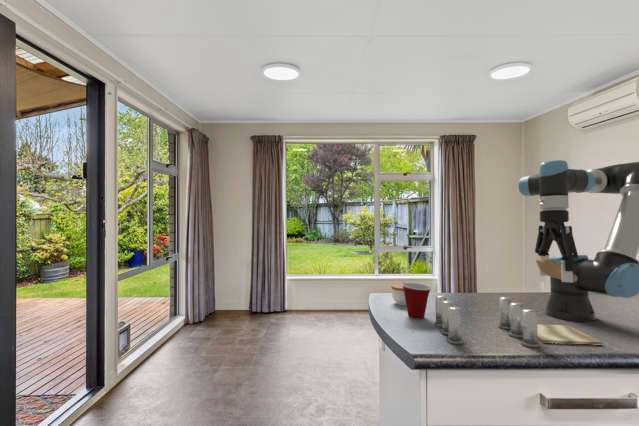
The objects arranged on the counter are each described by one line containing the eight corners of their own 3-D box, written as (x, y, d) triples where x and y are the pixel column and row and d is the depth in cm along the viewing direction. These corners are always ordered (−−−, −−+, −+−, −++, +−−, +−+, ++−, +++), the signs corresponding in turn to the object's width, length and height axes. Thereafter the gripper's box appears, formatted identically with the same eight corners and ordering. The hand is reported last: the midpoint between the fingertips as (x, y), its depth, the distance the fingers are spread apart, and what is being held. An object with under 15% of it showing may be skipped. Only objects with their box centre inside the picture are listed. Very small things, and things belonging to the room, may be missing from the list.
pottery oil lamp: (564, 284, 98) (564, 260, 99) (528, 277, 110) (528, 256, 110) (586, 282, 101) (586, 259, 101) (549, 276, 112) (549, 255, 113)
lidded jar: (421, 306, 142) (421, 283, 142) (399, 307, 139) (399, 285, 139) (408, 300, 152) (408, 279, 153) (387, 301, 149) (387, 280, 150)
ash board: (567, 328, 112) (567, 325, 112) (602, 345, 97) (602, 342, 97) (517, 326, 114) (517, 323, 114) (543, 343, 98) (543, 340, 98)
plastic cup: (433, 322, 119) (433, 288, 120) (402, 320, 121) (402, 287, 122) (430, 313, 130) (429, 282, 130) (401, 312, 132) (401, 281, 132)
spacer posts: (509, 326, 115) (509, 296, 115) (542, 348, 94) (542, 312, 95) (433, 323, 117) (433, 294, 118) (449, 344, 97) (449, 309, 97)
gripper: (522, 211, 119) (523, 272, 118) (564, 208, 95) (565, 285, 94) (545, 211, 118) (546, 273, 117) (592, 208, 94) (594, 285, 94)
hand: (555, 278), depth 106 cm, fingers closed on pottery oil lamp, 11 cm apart
